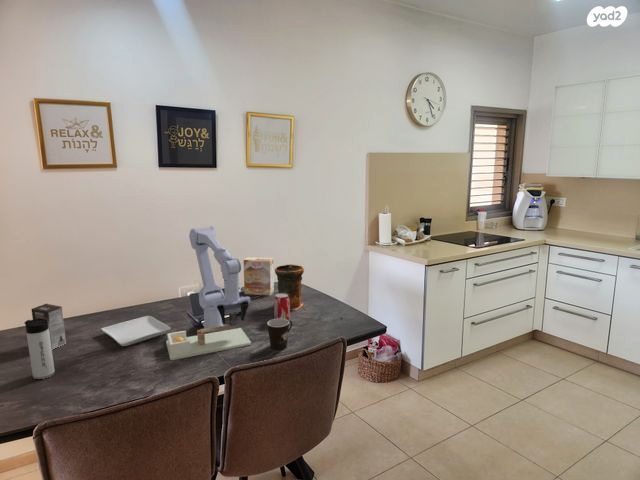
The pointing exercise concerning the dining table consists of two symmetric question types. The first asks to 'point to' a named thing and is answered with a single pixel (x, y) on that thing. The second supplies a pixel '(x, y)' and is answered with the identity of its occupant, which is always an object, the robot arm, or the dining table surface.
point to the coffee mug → (278, 333)
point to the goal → (178, 343)
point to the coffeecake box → (258, 276)
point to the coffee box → (52, 322)
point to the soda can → (281, 306)
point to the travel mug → (40, 348)
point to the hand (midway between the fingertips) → (233, 321)
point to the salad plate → (136, 330)
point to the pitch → (214, 343)
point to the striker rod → (217, 328)
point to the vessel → (290, 283)
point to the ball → (178, 339)
